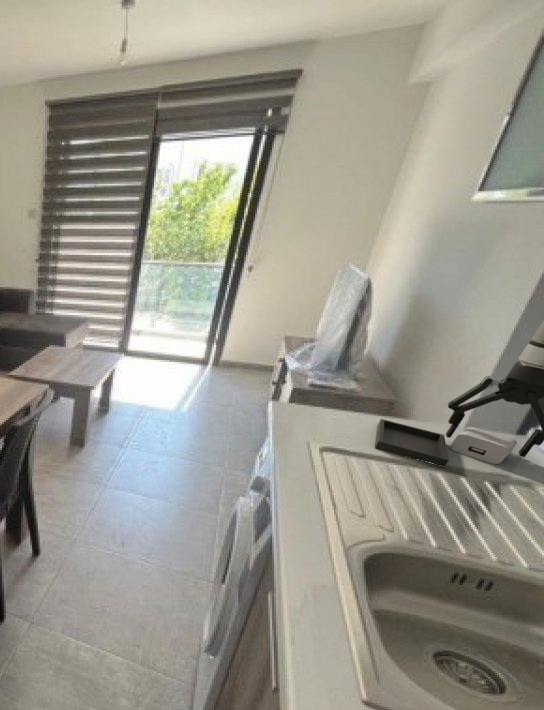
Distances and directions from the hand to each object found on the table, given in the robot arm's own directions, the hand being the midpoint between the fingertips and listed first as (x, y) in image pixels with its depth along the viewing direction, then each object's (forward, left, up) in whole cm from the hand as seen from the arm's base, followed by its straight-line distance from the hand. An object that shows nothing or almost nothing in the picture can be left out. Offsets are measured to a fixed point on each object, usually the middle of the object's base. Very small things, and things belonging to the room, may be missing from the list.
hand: (483, 445), depth 122 cm
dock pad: (-11, +14, -1) cm, 18 cm away
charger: (0, 0, -2) cm, 2 cm away
